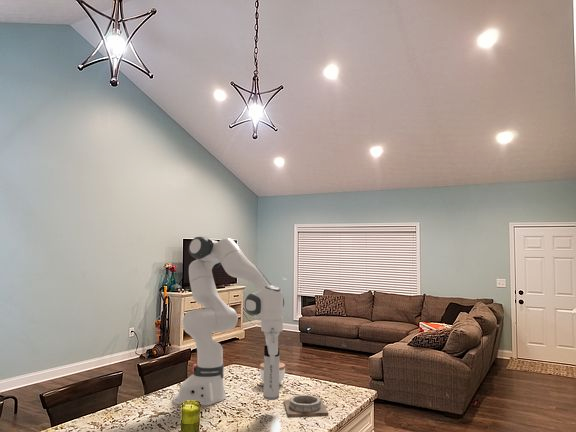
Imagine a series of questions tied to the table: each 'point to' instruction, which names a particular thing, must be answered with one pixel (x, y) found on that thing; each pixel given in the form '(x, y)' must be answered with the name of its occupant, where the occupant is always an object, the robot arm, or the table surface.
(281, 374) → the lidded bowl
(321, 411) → the collar board
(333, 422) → the table surface
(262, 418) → the table surface
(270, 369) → the travel mug
